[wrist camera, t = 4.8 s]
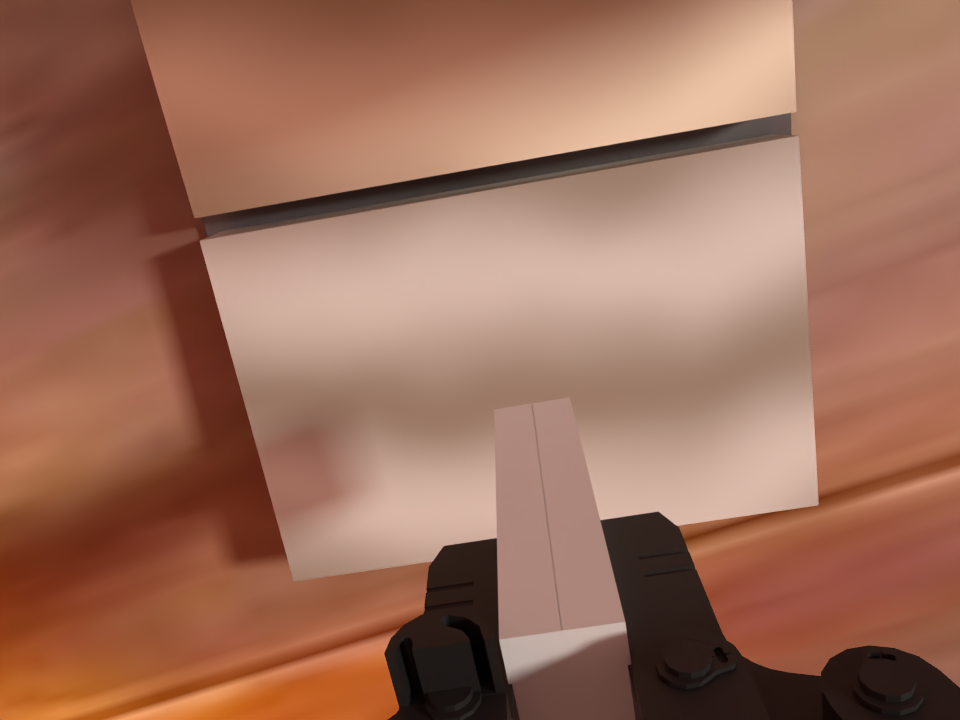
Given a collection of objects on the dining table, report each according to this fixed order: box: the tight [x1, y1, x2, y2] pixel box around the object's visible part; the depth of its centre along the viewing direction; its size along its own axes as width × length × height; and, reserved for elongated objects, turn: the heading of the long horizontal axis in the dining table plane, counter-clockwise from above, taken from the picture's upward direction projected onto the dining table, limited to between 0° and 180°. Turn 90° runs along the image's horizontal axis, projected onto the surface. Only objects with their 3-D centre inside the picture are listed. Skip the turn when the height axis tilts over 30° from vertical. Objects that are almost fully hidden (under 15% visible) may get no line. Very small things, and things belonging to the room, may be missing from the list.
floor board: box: [130, 0, 796, 237], centre depth 21 cm, size 21×16×2 cm
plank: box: [200, 134, 819, 581], centre depth 22 cm, size 10×15×2 cm, turn 100°
